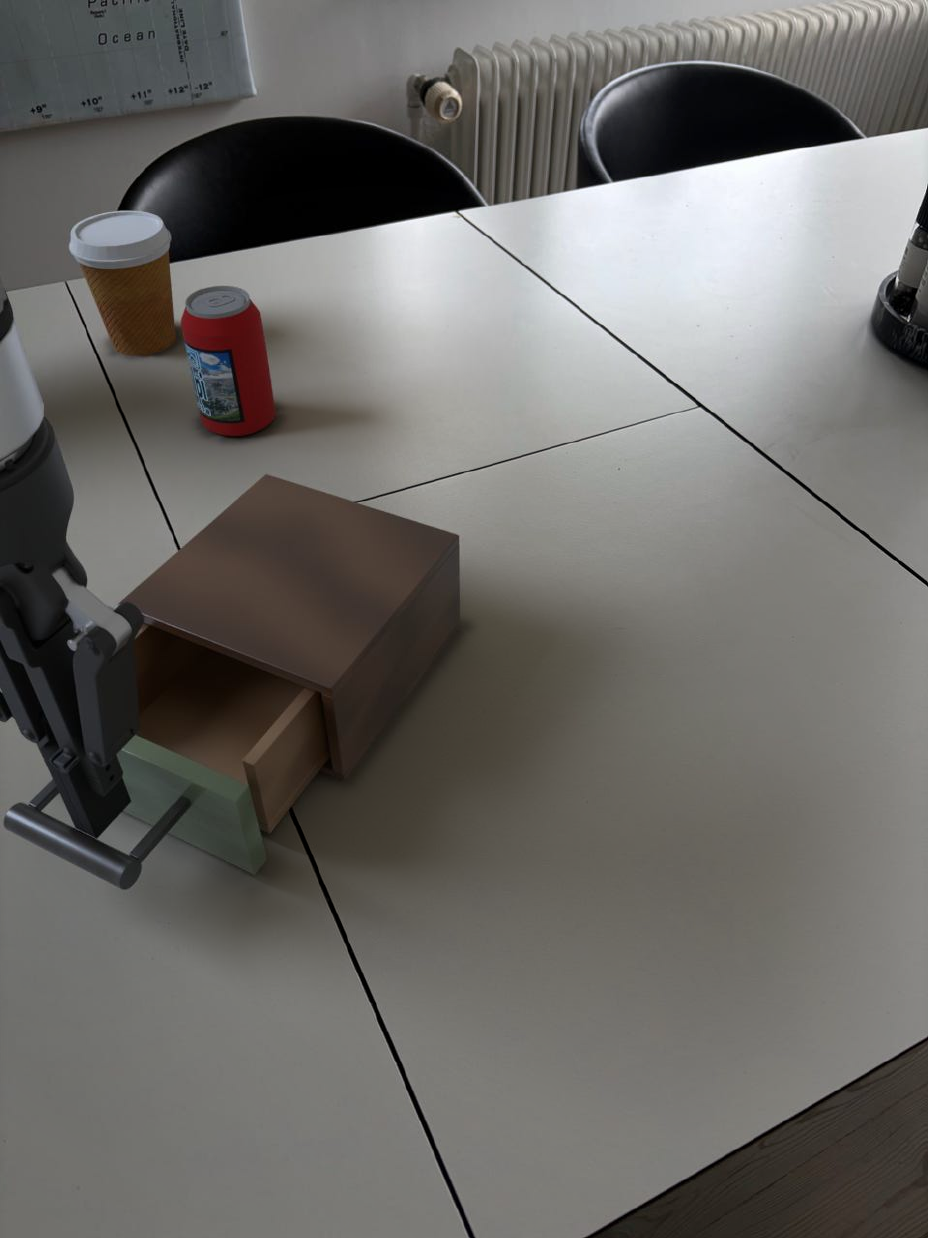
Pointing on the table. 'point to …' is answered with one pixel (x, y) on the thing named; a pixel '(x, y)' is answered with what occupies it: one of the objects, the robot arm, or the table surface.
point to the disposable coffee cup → (128, 277)
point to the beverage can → (228, 360)
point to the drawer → (198, 760)
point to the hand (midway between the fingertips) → (103, 814)
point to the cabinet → (316, 601)
